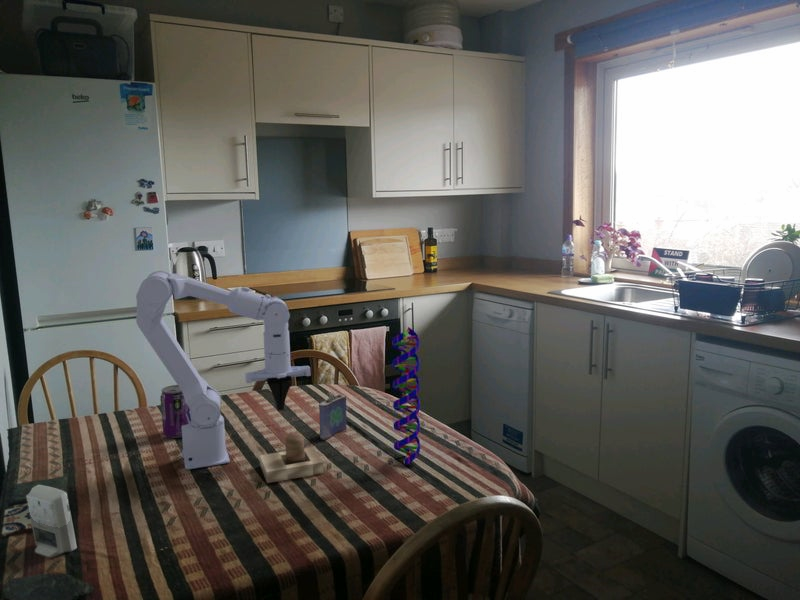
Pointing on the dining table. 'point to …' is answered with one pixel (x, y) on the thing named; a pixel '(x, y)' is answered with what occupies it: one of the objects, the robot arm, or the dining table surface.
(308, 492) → the dining table surface
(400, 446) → the dna model
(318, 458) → the board
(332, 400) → the flask
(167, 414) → the beverage can
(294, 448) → the peg
